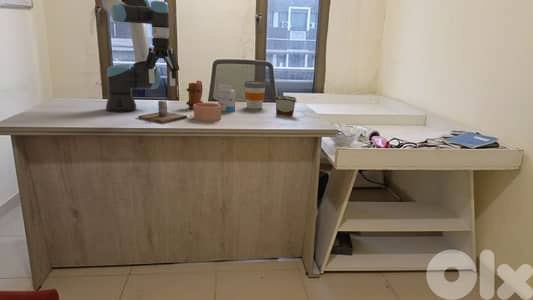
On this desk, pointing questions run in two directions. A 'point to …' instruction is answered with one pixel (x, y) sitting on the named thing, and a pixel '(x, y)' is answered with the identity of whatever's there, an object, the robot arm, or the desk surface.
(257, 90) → the reusable coffee cup
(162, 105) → the lid
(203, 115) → the bowl
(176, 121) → the mat
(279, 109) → the food container
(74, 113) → the desk surface
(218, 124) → the desk surface
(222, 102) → the clear plastic jar
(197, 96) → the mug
